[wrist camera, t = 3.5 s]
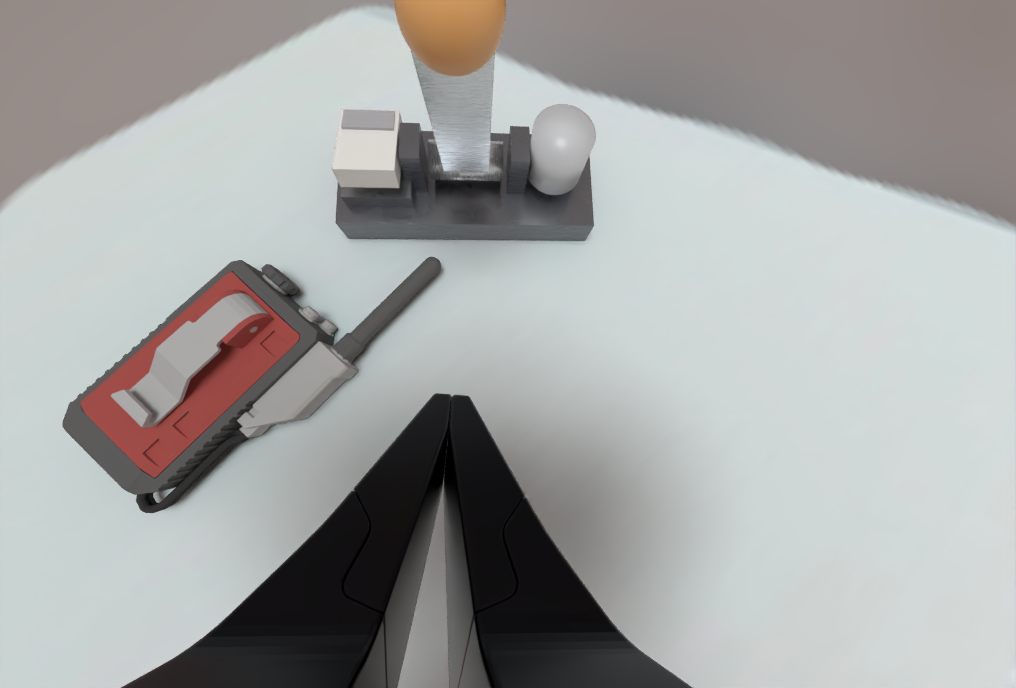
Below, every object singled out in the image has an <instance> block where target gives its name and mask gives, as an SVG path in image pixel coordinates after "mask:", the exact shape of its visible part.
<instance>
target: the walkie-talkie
mask: <svg viewBox="0 0 1016 688" xmlns="http://www.w3.org/2000/svg"><path fill="white" fill-rule="evenodd" d="M440 269H441V263H440V261H439V260H438V259H437V258H435V257H429V258H427V259H426V260H425V261H424V262H423V263H422V264H421V265H420V266H419V267H418V268H417V269H416V270H415V271H414V272H413V273H412V274H411V275H410V276H409V277H408V278H406V279H405V280H404V281H403V282H402V283H401V284H400V285H399V286H398V287H397V288H396V289H395V290H394V291H393V292H392V293H391V294H390V295H389V296H388V297H387V298H386V299H385V300H384V301H383V302H382V303H381V304H380V305H379V306H378V307H377V308H376V309H375V310H374V311H373V312H372V313H371V314H370V315H369V316H368V317H367V318H366V319H365V320H364V321H362V322H361V323H360V324H359V325H358V326H357V327H356V328H355V329H354V330H353V331H352V332H351V333H347V334H346V335H345V336H344V337H343V338H342V339H341V340H340V341H339V342H338V343H337V344H336V345H335V346H334V347H333V342H334V338H333V337H332V336H334V334H333V333H334V331H335V330H336V329H337V328H336V326H335V325H334V324H332V323H331V322H330V321H328V320H325V321H324V322H322V323H319V322H318V323H317V322H316V321H315V320H316V319H317V318H318V317H319V316H320V315H319V314H318V313H317V312H316V311H315V310H314V309H312V308H311V307H309V306H307V307H306V308H305V309H302V308H301V307H300V306H299V305H298V304H297V303H296V302H295V301H294V300H292V299H291V298H290V297H289V296H288V295H287V294H290V295H295V294H296V293H297V292H298V287H297V286H296V285H295V284H294V283H293V282H292V281H291V280H290V279H289V278H287V277H286V276H285V275H284V274H283V273H281V272H280V271H279V270H278V269H276V268H275V267H273V266H272V265H268V264H266V265H265V266H264V267H263V268H262V272H263V273H262V272H261V271H259V270H257V269H256V268H254V267H252V266H251V265H249V264H247V263H245V262H244V261H242V260H239V261H233V262H231V263H229V264H228V265H227V266H226V267H225V268H224V269H222V270H221V271H220V272H219V273H218V274H217V275H216V276H214V277H213V278H212V279H211V280H210V281H209V282H208V283H206V284H205V285H204V286H203V287H202V288H201V289H200V290H198V291H197V292H196V293H195V294H194V295H193V296H192V297H190V298H189V299H188V300H187V301H186V302H185V303H184V304H182V305H181V306H180V307H179V308H178V309H177V310H176V311H174V312H173V313H172V314H171V315H170V316H169V317H168V318H166V321H165V322H164V323H162V324H160V325H158V328H157V329H156V330H155V331H153V332H150V333H149V336H148V337H146V338H145V339H142V340H141V343H140V344H138V345H137V346H136V347H133V348H132V351H130V352H129V353H128V354H125V355H124V356H123V358H122V359H121V360H120V361H119V362H116V363H115V364H114V366H113V367H112V368H111V369H110V370H107V371H106V372H105V374H104V375H103V376H102V377H101V378H98V379H97V380H96V382H95V383H94V384H93V385H91V386H89V387H87V390H86V391H85V392H83V393H82V394H79V395H78V397H77V399H75V400H74V401H73V402H70V404H69V406H68V409H67V412H66V414H65V417H64V420H63V428H64V429H65V431H66V432H67V433H68V434H69V435H70V436H71V437H72V438H73V439H74V440H75V441H76V442H77V443H78V444H79V445H80V446H81V447H82V448H83V449H84V450H85V451H86V452H87V453H88V454H89V455H90V456H91V457H92V458H93V459H94V460H95V461H96V462H97V463H98V464H99V465H100V466H101V467H102V468H103V469H104V470H105V471H106V472H107V473H108V474H109V475H110V476H111V477H112V478H113V479H114V480H115V481H116V482H117V483H118V484H119V485H120V486H121V487H122V488H123V489H124V490H126V491H128V492H130V493H132V494H135V495H136V494H137V499H136V502H137V504H138V506H139V508H140V510H141V511H143V512H145V513H155V512H158V511H160V510H164V509H166V508H168V507H170V506H171V505H173V504H174V503H176V502H177V501H178V500H179V499H180V498H181V497H182V496H183V495H184V494H185V493H186V492H187V491H188V490H189V489H190V488H191V487H192V486H193V485H194V484H195V483H196V482H197V481H198V480H199V479H200V478H201V477H202V476H203V475H204V474H205V473H206V472H207V471H208V470H209V469H210V468H211V467H212V466H213V465H214V464H215V463H216V462H217V461H218V460H220V459H221V458H222V457H223V456H224V455H225V454H226V453H227V452H228V451H229V450H230V449H231V448H232V447H234V446H235V445H236V444H238V443H240V442H243V441H246V440H248V439H249V438H251V437H256V436H261V435H262V434H263V433H264V432H265V431H266V430H267V429H268V428H269V427H270V426H271V425H276V424H281V423H286V422H291V421H296V420H301V419H306V418H308V417H309V416H310V415H311V414H312V413H313V412H314V411H315V410H316V409H317V408H318V407H319V406H320V405H321V404H322V403H323V402H324V401H325V400H326V399H327V398H328V397H329V396H330V395H331V394H332V393H333V392H334V391H335V390H336V389H337V388H338V387H339V386H340V385H341V384H342V383H343V382H344V381H345V380H350V379H351V378H352V377H353V376H354V375H355V374H356V373H357V372H358V369H357V368H356V367H355V366H353V365H352V364H351V362H352V361H353V360H354V359H355V358H356V357H357V356H358V355H359V354H360V353H361V352H362V351H363V350H364V349H365V345H366V344H367V343H368V342H369V341H370V340H371V339H372V338H373V337H374V336H375V335H376V334H377V333H378V332H379V331H380V330H381V329H382V328H383V327H384V326H385V325H386V324H387V323H388V322H389V321H390V320H391V319H392V318H393V317H394V316H395V315H396V314H397V313H398V312H399V311H400V310H401V309H402V308H403V307H404V306H405V305H406V304H407V303H408V302H409V301H410V300H411V299H412V297H413V296H414V295H415V294H416V293H417V292H418V291H419V290H420V289H421V288H422V287H423V286H424V285H425V284H426V283H427V282H428V281H429V280H430V279H431V278H432V277H433V276H434V275H435V274H436V273H437V272H438V271H439V270H440ZM174 487H176V488H175V489H174V490H173V491H172V492H171V493H170V494H169V495H168V496H167V497H166V498H165V499H164V500H163V501H161V502H160V503H156V501H155V499H154V497H153V493H154V492H159V491H163V490H167V489H171V488H174Z"/></svg>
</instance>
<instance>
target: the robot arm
mask: <svg viewBox="0 0 1016 688" xmlns="http://www.w3.org/2000/svg"><path fill="white" fill-rule="evenodd" d="M451 399H452V401H451ZM450 410H451V411H450ZM449 420H450V421H449ZM447 441H448V442H447ZM446 451H447V452H446ZM445 461H446V463H445ZM444 471H445V474H444ZM443 480H444V524H445V558H446V592H447V626H448V660H449V688H692V687H691V686H689V685H688V684H687V683H685V682H684V681H682V680H681V679H680V678H678V677H677V676H675V675H674V674H672V673H671V672H670V671H668V670H667V669H665V668H664V667H663V666H661V665H660V664H658V663H657V662H655V661H654V660H653V659H651V658H650V657H648V656H647V655H646V654H644V653H643V652H642V651H640V650H639V649H638V648H637V647H635V646H634V645H633V644H632V643H631V642H630V641H629V640H628V639H627V638H626V637H625V636H624V635H623V634H622V633H621V632H620V631H619V630H618V629H617V628H616V626H615V625H614V624H613V623H612V622H611V620H610V619H609V618H608V616H607V615H606V614H605V613H604V611H603V610H602V608H601V607H600V606H599V604H598V603H597V602H596V600H595V599H594V597H593V596H592V595H591V593H590V592H589V591H588V589H587V588H586V586H585V585H584V584H583V582H582V581H581V580H580V578H579V577H578V576H577V574H576V573H575V571H574V570H573V569H572V567H571V566H570V565H569V563H568V562H567V560H566V559H565V558H564V556H563V555H562V553H561V552H560V551H559V549H558V548H557V546H556V545H555V543H554V542H553V541H552V539H551V538H550V536H549V535H548V533H547V532H546V530H545V528H544V527H543V525H542V523H541V522H540V520H539V519H538V517H537V515H536V514H535V512H534V510H533V508H532V507H531V505H530V503H529V501H528V499H527V498H525V494H524V493H523V491H522V489H521V487H520V486H519V484H518V482H517V480H516V478H515V477H514V475H513V473H512V471H511V470H510V468H509V466H508V464H507V462H506V461H505V459H504V457H503V455H502V454H501V452H500V450H499V448H498V446H497V445H496V443H495V441H494V439H493V438H492V436H491V434H490V432H489V431H488V429H487V427H486V425H485V423H484V422H483V420H482V418H481V416H480V415H479V413H478V411H477V409H476V407H475V406H474V404H473V402H472V400H471V399H470V397H469V396H465V395H453V396H451V395H450V394H439V393H436V394H434V395H433V396H432V397H431V398H430V400H429V401H428V402H427V403H426V404H425V406H424V407H423V408H422V409H421V410H420V411H419V413H418V414H417V415H416V416H415V417H414V418H413V420H412V421H411V422H410V423H409V424H408V426H407V427H406V428H405V429H404V430H403V431H402V433H401V434H400V435H399V436H398V437H397V438H396V440H395V441H394V442H393V443H392V444H391V446H390V447H389V448H388V449H387V450H386V451H385V453H384V454H383V455H382V456H381V457H380V458H379V460H378V461H377V462H376V463H375V464H374V466H373V467H372V468H371V469H370V470H369V471H368V473H367V474H366V475H365V476H364V477H363V478H362V480H361V481H360V482H359V483H358V484H357V486H356V487H355V488H354V491H351V492H350V494H349V495H348V496H347V497H346V498H345V499H344V501H343V502H342V503H341V504H340V505H339V507H338V508H337V509H336V510H335V511H334V512H333V513H332V514H331V515H330V516H329V518H328V519H327V520H326V521H325V522H324V523H323V524H322V525H321V526H320V528H319V529H318V530H317V531H316V532H315V533H314V534H312V535H311V536H310V537H309V538H308V539H307V540H306V541H305V542H304V543H303V544H302V545H301V546H300V547H299V548H298V549H297V550H296V551H295V552H294V553H293V554H292V555H291V556H290V557H289V558H288V559H287V560H286V561H285V562H284V563H283V564H282V565H281V566H280V567H279V568H278V569H277V570H276V571H275V572H273V573H272V574H271V575H270V576H269V577H268V578H267V579H266V580H265V581H264V582H263V583H262V584H261V585H260V586H259V587H258V588H257V589H256V590H255V591H254V592H253V593H251V594H250V595H249V596H248V597H247V598H246V599H245V600H244V601H243V602H242V603H241V604H240V605H239V606H238V607H237V608H236V609H235V610H234V611H233V612H232V613H231V614H230V615H228V616H227V617H226V618H225V619H224V620H223V621H222V622H221V623H220V624H219V625H218V626H216V627H215V628H214V629H213V630H212V631H210V632H209V633H208V634H207V635H206V636H204V637H203V638H202V639H200V640H199V641H198V642H196V643H195V644H194V645H192V646H191V647H190V648H188V649H187V650H185V651H184V652H182V653H181V654H179V655H178V656H176V657H175V658H173V659H171V660H170V661H168V662H166V663H165V664H163V665H161V666H159V667H157V668H156V669H154V670H152V671H150V672H148V673H147V674H145V675H143V676H141V677H139V678H138V679H136V680H134V681H132V682H130V683H129V684H127V685H125V686H123V687H121V688H397V686H398V682H399V677H400V673H401V669H402V664H403V660H404V655H405V651H406V647H407V642H408V638H409V633H410V629H411V625H412V620H413V616H414V611H415V607H416V603H417V598H418V594H419V589H420V585H421V581H422V576H423V572H424V567H425V563H426V559H427V554H428V550H429V545H430V541H431V536H432V532H433V528H434V523H435V519H436V514H437V510H438V506H439V501H440V497H441V492H442V487H443Z"/></svg>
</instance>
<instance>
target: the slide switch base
mask: <svg viewBox="0 0 1016 688" xmlns="http://www.w3.org/2000/svg"><path fill="white" fill-rule="evenodd" d="M531 137H532V134H529V127H517V126H510V134H500V133H491V135H490V141H500V142H503V151H504V162H503V181H459V180H431V178H430V174H429V166H428V140H429V139H430V140H435V137H434V133H433V131H421V127H420V123H400V137H399V160H400V163H401V175H400V188H366V187H341V186H340V184H339V182H338V190H337V208H336V224H337V225H338V226H339V227H340V229H341V230H342V231H343V232H344V234H345V235H346V236H347V237H348V238H363V239H470V240H577V241H585V239H586V238H587V236H588V234H589V233H590V231H591V230H592V228H593V226H594V221H593V205H592V190H591V174H590V158H589V157H588V160H587V162H586V164H585V167H584V169H583V171H582V174H581V176H580V178H579V181H578V183H577V184H576V186H575V187H574V188H573V189H572V190H570V191H569V192H567V193H564V194H561V195H549V194H545V193H543V192H541V191H539V190H537V189H536V188H535V187H534V186H533V185H532V184H531V182H530V181H529V179H528V177H527V176H528V171H529V166H530V142H531Z"/></svg>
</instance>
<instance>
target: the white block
mask: <svg viewBox="0 0 1016 688" xmlns="http://www.w3.org/2000/svg"><path fill="white" fill-rule="evenodd" d="M400 123H402V120H401V116H400V112H399V111H381V110H352V109H341V114H340V120H339V127H338V133H337V139H336V146H335V152H334V158H333V165H332V170H333V172H334V174H335V176H336V178H337V180H338V182H339V184H340V186H341V187H366V188H400V175H401V163H400V160H399V137H400Z"/></svg>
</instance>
